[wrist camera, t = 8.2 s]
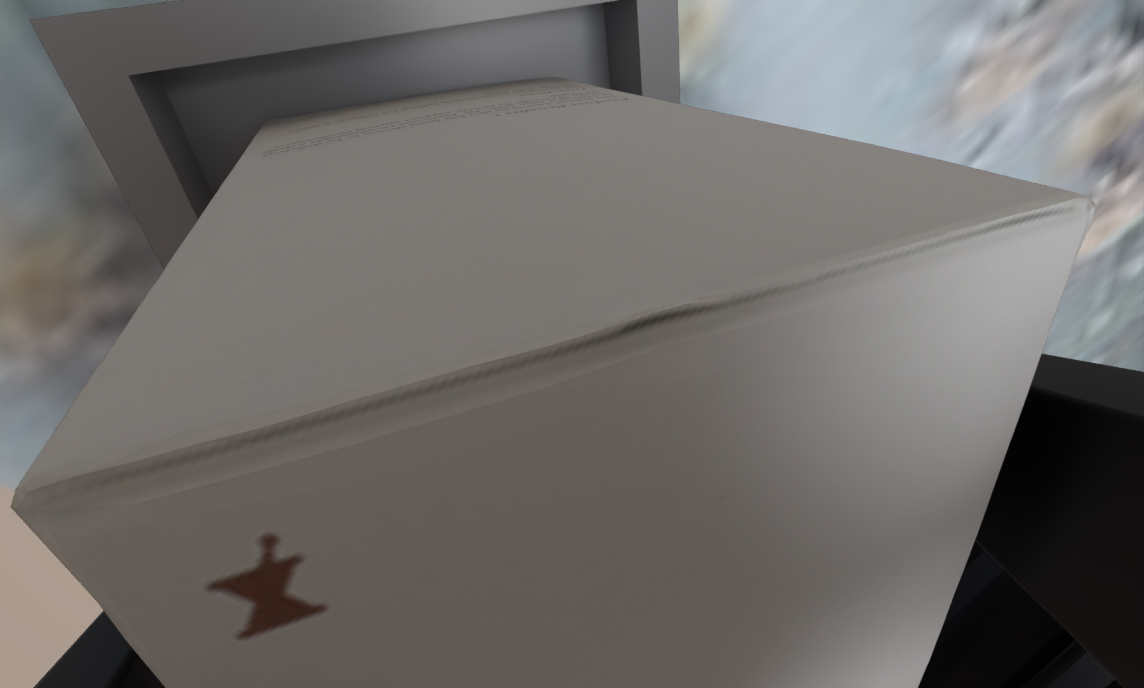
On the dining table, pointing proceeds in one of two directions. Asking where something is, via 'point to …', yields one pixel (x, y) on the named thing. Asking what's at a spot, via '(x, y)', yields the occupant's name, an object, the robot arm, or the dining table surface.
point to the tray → (317, 73)
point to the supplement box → (558, 402)
